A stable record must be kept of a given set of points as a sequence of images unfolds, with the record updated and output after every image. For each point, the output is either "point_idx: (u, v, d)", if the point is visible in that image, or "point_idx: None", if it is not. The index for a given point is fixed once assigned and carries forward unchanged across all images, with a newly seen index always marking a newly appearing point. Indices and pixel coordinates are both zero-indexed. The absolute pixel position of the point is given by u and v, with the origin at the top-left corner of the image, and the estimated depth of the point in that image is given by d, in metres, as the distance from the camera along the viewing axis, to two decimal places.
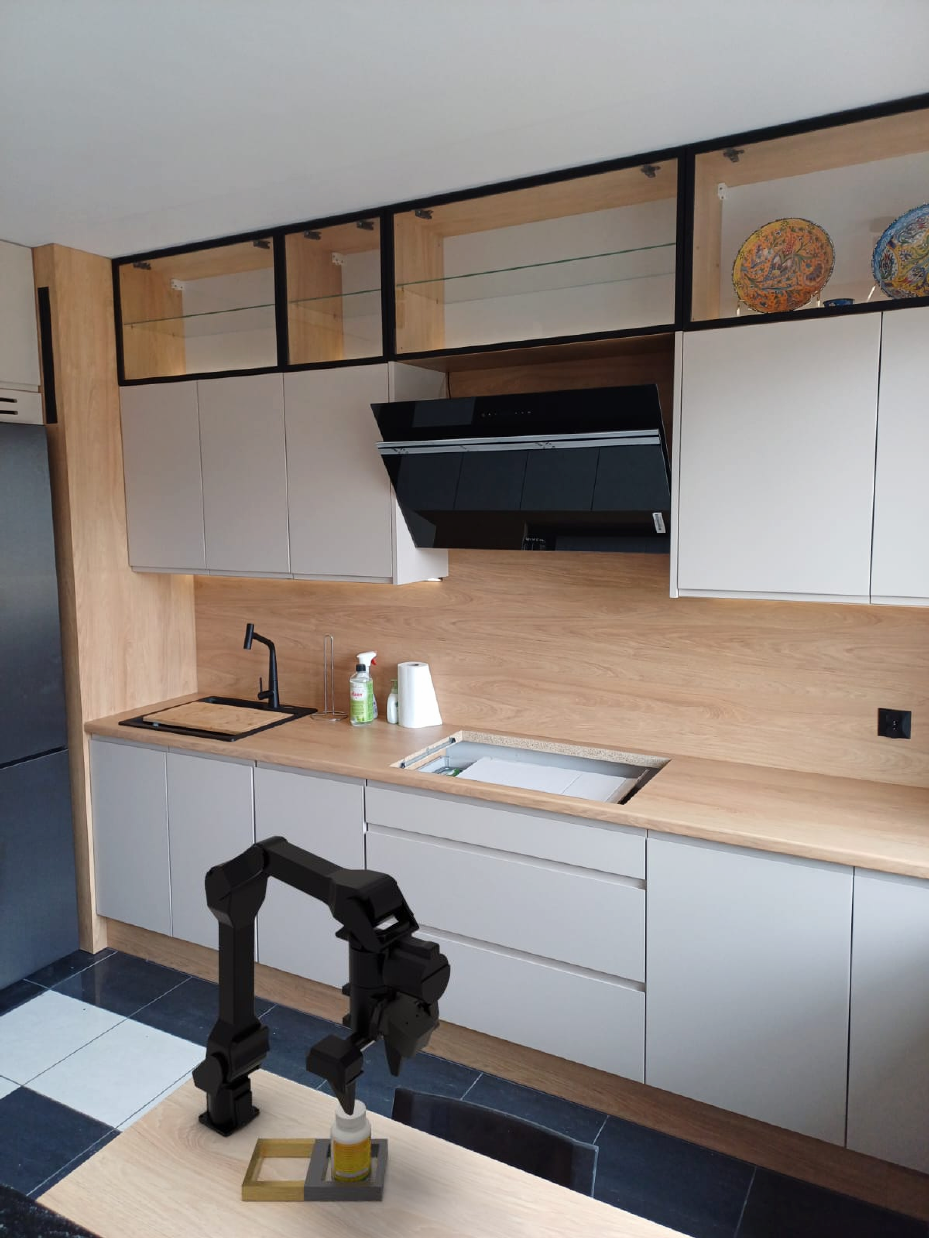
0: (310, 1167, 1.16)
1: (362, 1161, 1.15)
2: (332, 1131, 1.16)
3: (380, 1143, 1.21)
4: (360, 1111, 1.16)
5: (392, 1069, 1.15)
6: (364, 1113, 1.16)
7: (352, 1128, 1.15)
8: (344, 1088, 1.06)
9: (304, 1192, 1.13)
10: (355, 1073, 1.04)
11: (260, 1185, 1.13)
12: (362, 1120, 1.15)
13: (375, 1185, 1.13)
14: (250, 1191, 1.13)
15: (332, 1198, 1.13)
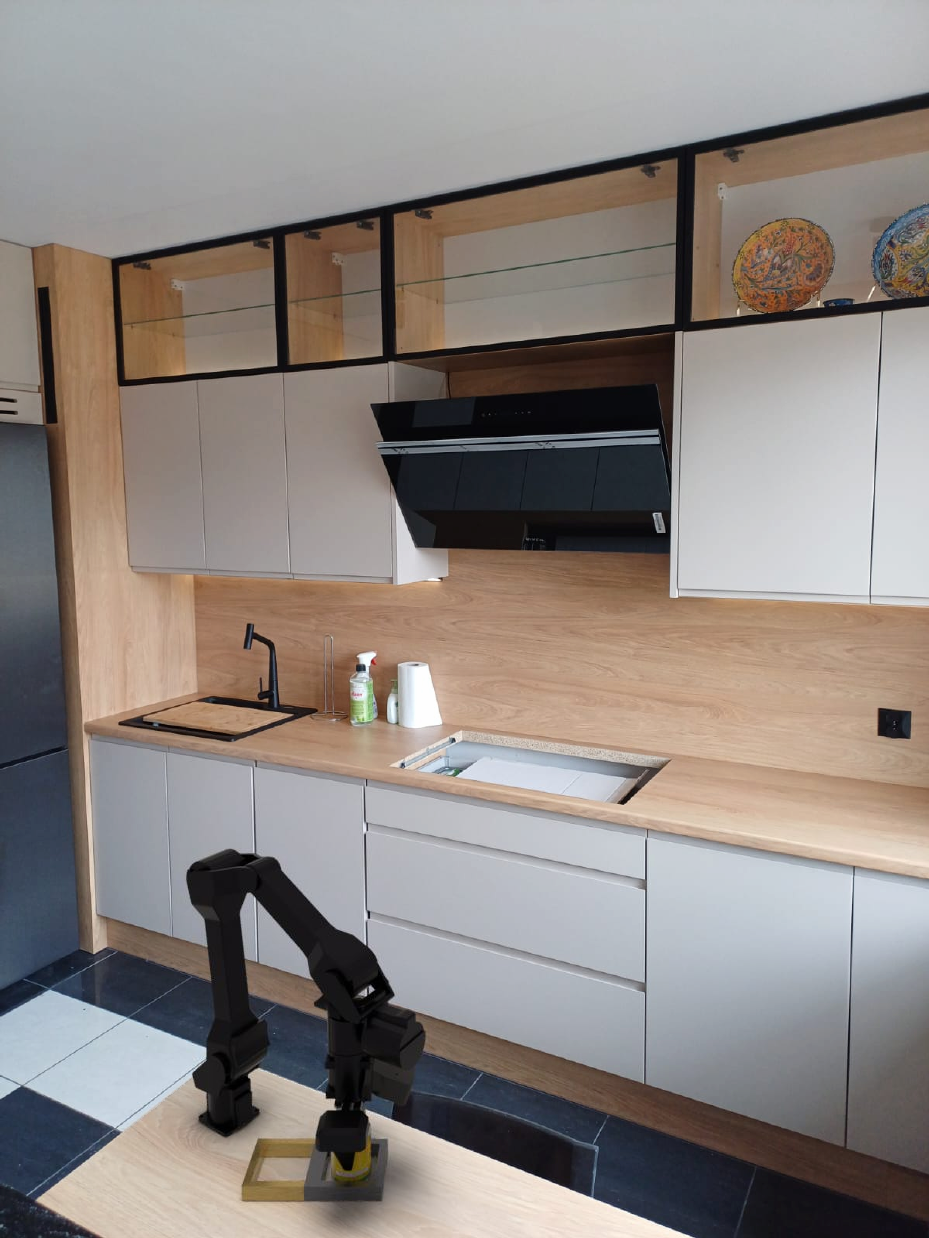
0: (310, 1167, 1.16)
1: (362, 1161, 1.15)
2: None
3: (380, 1143, 1.21)
4: None
5: None
6: None
7: None
8: None
9: (304, 1192, 1.13)
10: (367, 1136, 1.09)
11: (260, 1185, 1.13)
12: None
13: (375, 1185, 1.13)
14: (250, 1191, 1.13)
15: (332, 1198, 1.13)
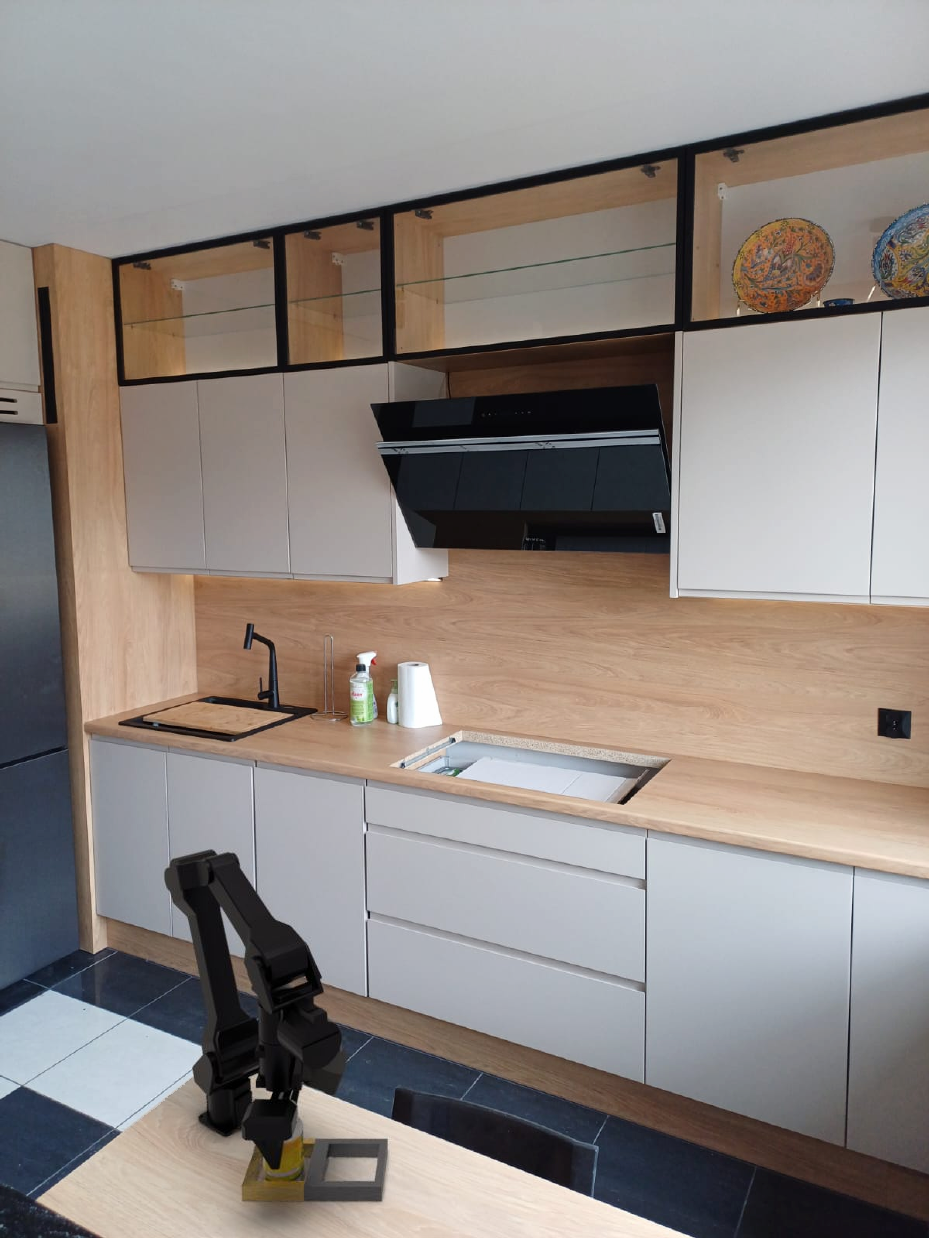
0: (310, 1167, 1.16)
1: (293, 1160, 1.15)
2: None
3: (380, 1143, 1.21)
4: None
5: None
6: None
7: None
8: (275, 1145, 1.11)
9: (304, 1192, 1.13)
10: (294, 1125, 1.09)
11: (260, 1185, 1.13)
12: None
13: (375, 1185, 1.13)
14: (250, 1191, 1.13)
15: (332, 1198, 1.13)
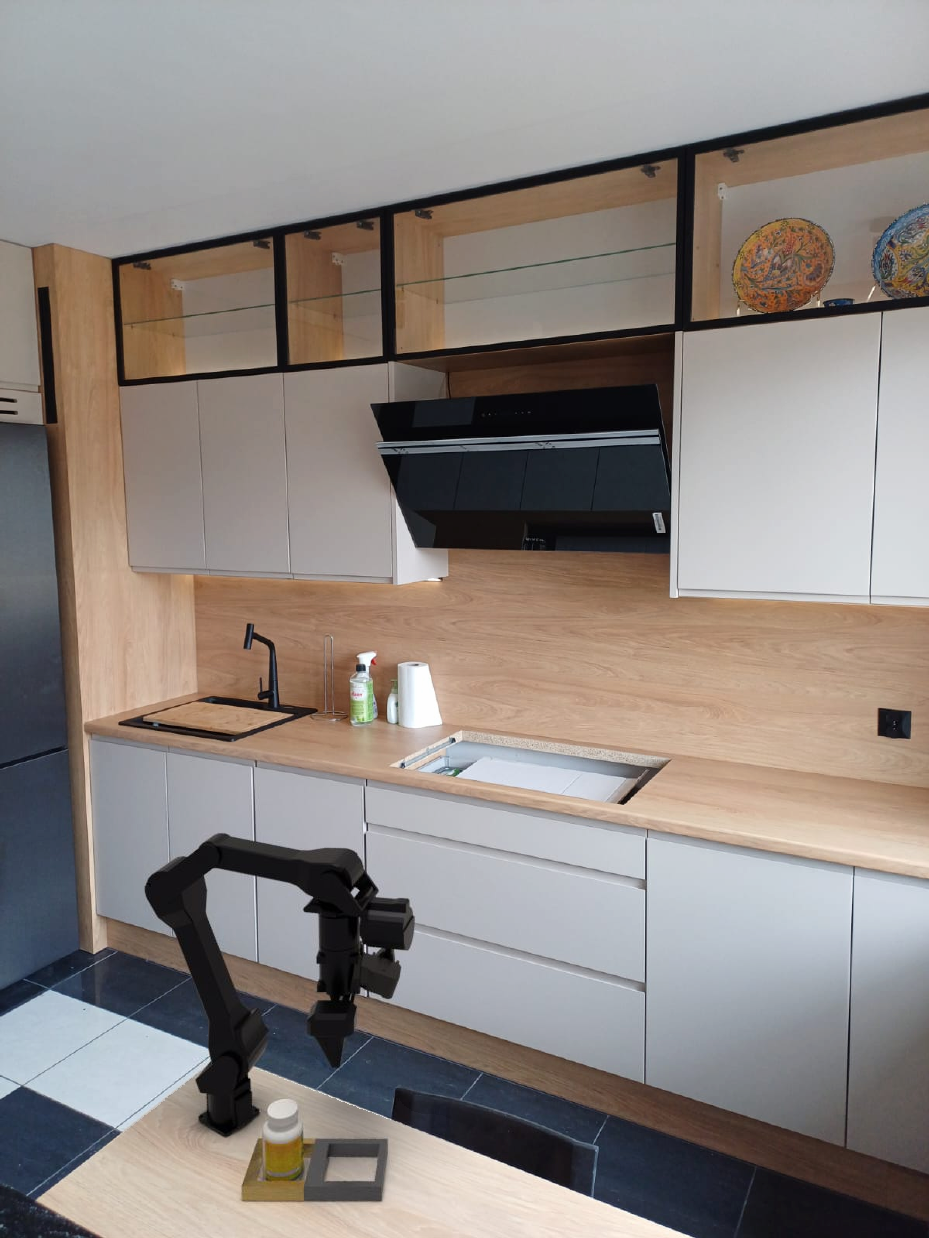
0: (310, 1167, 1.16)
1: (293, 1160, 1.15)
2: (263, 1131, 1.16)
3: (380, 1143, 1.21)
4: (292, 1110, 1.16)
5: None
6: (295, 1113, 1.16)
7: (283, 1128, 1.15)
8: (336, 1043, 1.18)
9: (304, 1192, 1.13)
10: (355, 1023, 1.17)
11: (260, 1185, 1.13)
12: (293, 1120, 1.15)
13: (375, 1185, 1.13)
14: (250, 1191, 1.13)
15: (332, 1198, 1.13)
